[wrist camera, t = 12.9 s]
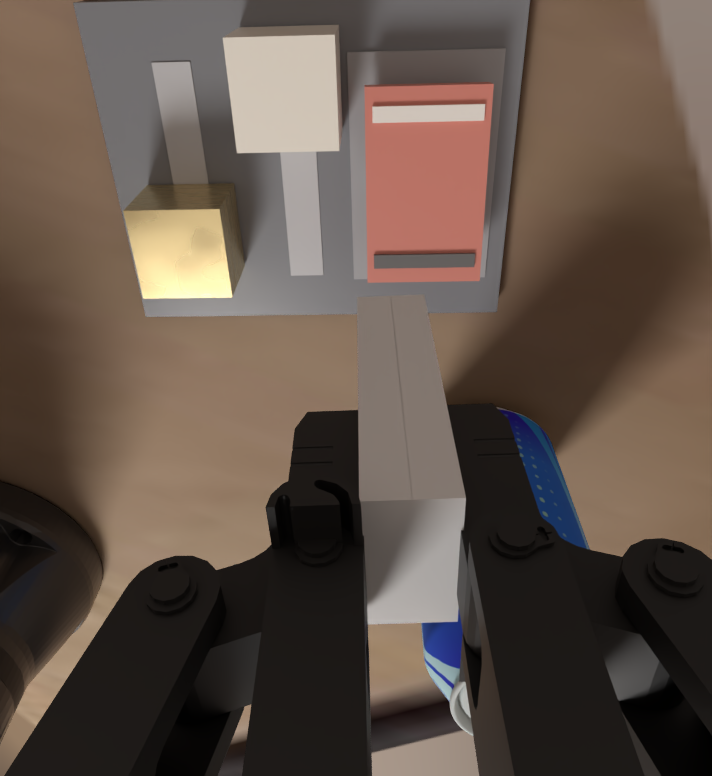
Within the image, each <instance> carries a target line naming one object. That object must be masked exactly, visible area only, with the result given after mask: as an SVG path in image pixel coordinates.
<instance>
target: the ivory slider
mask: <svg viewBox="0 0 712 776" xmlns="http://www.w3.org/2000/svg"><path fill="white" fill-rule="evenodd" d="M223 45H224V53H225V61H226V69H227V77H228V85H229V93H230V101H231V109H232V117H233V126H234V134H235V142H236V150H237V153H272V152H319V151H339V150H340V143H341V137H342V131H343V127H342V99H341V70H340V42H339V25H305V26H268V27H239V28H237V29H236V30H234V31H232V32H231V33H229V34H228V35H226V36H224V37H223Z"/></svg>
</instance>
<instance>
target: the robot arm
mask: <svg viewBox="0 0 712 776" xmlns="http://www.w3.org/2000/svg"><path fill="white" fill-rule="evenodd" d="M357 328H358V410H349V411H321V412H307V414H306V415H305V416H304V418H303V419H302V420H301V421H300V423H299V424H298V425H297V427H296V428H295V432H294V440H293V451H292V456H291V467H290V472H289V480H288V482H286V483H284V484H282V485H281V486H280V487H279V488H278V489H277V490H275V491H274V492H273V493H272V494H271V496H270V498H269V501H268V503H267V505H266V512H267V519H268V525H269V531H270V537H271V543H272V545H271V546H270V547H269V548H268V549H267V550H266V551H264V552H262V553H261V554H259V555H258V556H256V557H255V558H252V559H250V560H247V561H245V562H242V563H240V564H236V565H233V566H230V567H226V568H223V569H220V570H215V569H214V568H213V566H212V565H211V564H210V563H209V562H208V561H205V560H203V559H200V558H197V557H194V556H173V557H170V558H166V559H163V560H159V561H157V562H155V563H153V564H152V565H150V566H148V567H147V568H145V569H143V570H142V571H140V573H139V574H138V575H137V576H136V577H135V578H134V579H133V580H132V581H131V582H130V583H129V585H128V586H127V588H126V589H125V591H124V592H123V594H122V595H121V597H120V598H119V600H118V601H117V603H116V605H115V606H114V608H113V609H112V611H111V612H110V614H109V615H108V617H107V618H106V620H105V621H104V623H103V625H102V626H101V628H100V629H99V631H98V632H97V634H96V635H95V637H94V638H93V640H92V641H91V643H90V645H89V646H88V648H87V649H86V651H85V652H84V654H83V655H82V657H81V658H80V660H79V661H78V663H77V665H76V666H75V668H74V669H73V671H72V672H71V674H70V675H69V677H68V678H67V680H66V681H65V683H64V685H63V686H62V688H61V689H60V691H59V692H58V694H57V695H56V697H55V698H54V700H53V701H52V703H51V705H50V706H49V708H48V709H47V711H46V712H45V714H44V715H43V717H42V718H41V720H40V721H39V723H38V725H37V726H36V728H35V729H34V731H33V732H32V734H31V735H30V737H29V739H28V740H27V742H26V743H25V745H24V746H23V748H22V749H21V751H20V752H19V754H18V755H17V757H16V758H15V760H14V762H13V763H12V765H11V766H10V768H9V769H8V771H7V772H6V774H5V776H218V773H219V771H220V768H221V766H222V763H223V761H224V758H225V756H226V753H227V751H228V748H229V746H230V743H231V740H232V738H233V735H234V733H235V730H236V728H237V725H238V723H239V720H240V718H241V715H242V712H243V710H244V706H247V705H250V704H252V705H251V713H250V720H249V728H248V735H247V743H246V750H245V758H244V765H243V773H242V776H372V760H371V719H370V678H369V647H368V624H398V623H432V622H458V609H459V612H460V618H461V624H462V631H463V634H462V647H461V660H460V674H459V682H465V683H466V689H467V696H468V703H469V709H470V716H471V723H472V729H473V736H474V743H475V749H476V756H477V762H478V769H479V776H712V560H711V559H710V558H709V557H707V556H706V555H705V554H704V553H703V552H701V551H699V550H697V549H695V548H693V547H691V546H689V545H687V544H684V543H682V542H678V541H673V540H668V539H663V538H660V539H644V540H642V541H640V542H638V543H636V544H633V545H631V546H630V547H629V549H628V550H627V551H626V553H625V554H624V555H623V557H620V556H615V555H611V554H606V553H602V552H597V551H592V550H589V549H586V548H582V547H579V546H576V545H574V544H572V543H570V542H568V541H566V540H564V539H562V538H561V537H560V536H559V534H558V533H557V531H556V529H555V528H554V526H553V525H551V524H550V523H549V522H547V521H546V520H545V519H543V518H542V516H541V514H540V512H539V509H538V506H537V503H536V500H535V497H534V494H533V491H532V488H531V485H530V482H529V479H528V476H527V473H526V470H525V467H524V464H523V461H522V458H521V457H520V452H519V449H518V446H517V443H516V441H515V437H514V434H513V431H512V428H511V425H510V422H509V419H508V418H507V417H506V416H505V415H504V414H503V413H502V412H501V411H500V410H499V409H497V408H496V407H495V406H494V405H493V404H465V405H447V403H446V398H445V393H444V389H443V384H442V379H441V374H440V369H439V364H438V359H437V355H436V350H435V345H434V340H433V335H432V330H431V325H430V321H429V316H428V311H427V306H426V301H425V296H424V295H399V296H374V297H357ZM101 583H102V565H101V561H100V558H99V555H98V553H97V550H96V548H95V546H94V545H93V543H92V542H91V540H90V539H89V537H88V536H87V535H86V533H85V532H84V531H83V530H82V529H81V528H80V527H79V526H78V525H77V524H76V523H75V522H74V521H73V520H72V519H71V518H70V517H69V516H67V515H66V514H65V513H64V512H62V511H61V510H59V509H58V508H57V507H55V506H54V505H52V504H50V503H49V502H47V501H45V500H44V499H42V498H40V497H38V496H36V495H34V494H32V493H30V492H27V491H25V490H23V489H20V488H17V487H15V486H12V485H9V484H6V483H2V482H0V744H1V741H2V739H3V737H4V735H5V733H6V730H7V728H8V726H9V724H10V722H11V720H12V717H13V715H14V713H15V711H16V708H17V706H18V704H19V702H20V700H21V698H22V696H23V694H24V692H25V690H26V687H27V686H28V684H29V683H30V682H31V681H32V680H33V679H34V678H35V676H36V675H37V674H38V673H39V672H40V671H41V670H42V669H43V667H44V666H45V665H46V664H47V663H48V662H49V661H50V660H51V658H52V657H53V656H54V655H55V654H56V653H57V651H58V650H59V649H60V648H61V647H62V646H63V644H64V643H65V642H66V641H67V639H68V638H69V637H70V636H71V635H72V634H73V633H74V632H75V631H76V630H77V629H78V628H79V627H80V626H81V625H82V624H83V622H84V621H85V619H86V618H87V616H88V614H89V613H90V610H91V608H92V606H93V603H94V601H95V599H96V596H97V594H98V591H99V589H100V586H101Z"/></svg>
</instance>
